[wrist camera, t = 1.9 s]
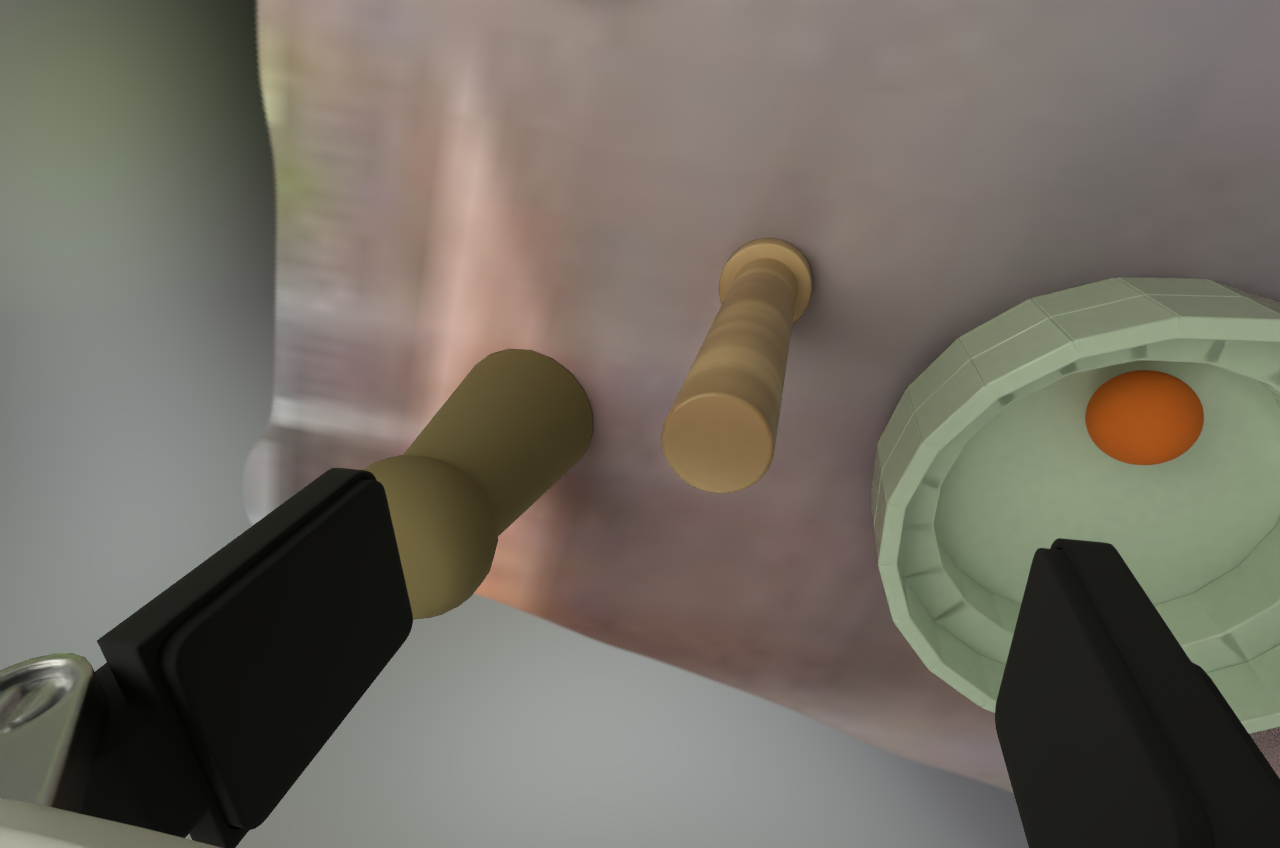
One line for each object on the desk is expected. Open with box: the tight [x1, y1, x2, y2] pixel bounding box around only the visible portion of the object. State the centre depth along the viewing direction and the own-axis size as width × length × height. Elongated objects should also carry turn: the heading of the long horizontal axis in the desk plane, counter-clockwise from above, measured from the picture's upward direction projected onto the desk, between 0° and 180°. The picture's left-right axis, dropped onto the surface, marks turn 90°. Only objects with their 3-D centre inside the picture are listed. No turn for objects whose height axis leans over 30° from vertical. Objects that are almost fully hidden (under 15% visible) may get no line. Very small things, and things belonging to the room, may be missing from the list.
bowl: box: [871, 277, 1280, 734], centre depth 22 cm, size 15×15×5 cm
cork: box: [364, 349, 593, 619], centre depth 24 cm, size 6×6×11 cm
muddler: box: [662, 238, 812, 493], centre depth 19 cm, size 3×3×13 cm
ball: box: [1085, 370, 1204, 465], centre depth 21 cm, size 3×3×3 cm
